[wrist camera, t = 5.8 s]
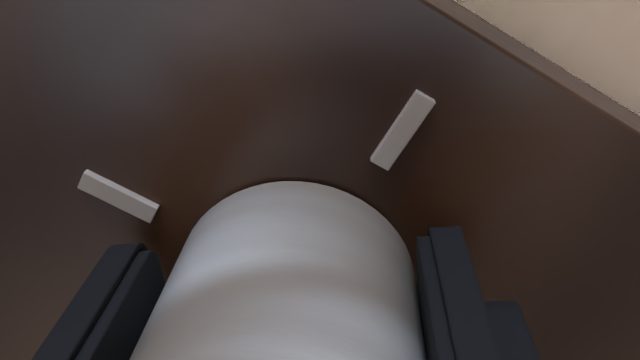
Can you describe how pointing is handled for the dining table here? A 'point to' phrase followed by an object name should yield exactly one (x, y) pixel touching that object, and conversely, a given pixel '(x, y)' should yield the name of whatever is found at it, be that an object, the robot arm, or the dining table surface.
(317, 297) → the knob
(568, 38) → the dining table surface
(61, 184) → the dial panel
